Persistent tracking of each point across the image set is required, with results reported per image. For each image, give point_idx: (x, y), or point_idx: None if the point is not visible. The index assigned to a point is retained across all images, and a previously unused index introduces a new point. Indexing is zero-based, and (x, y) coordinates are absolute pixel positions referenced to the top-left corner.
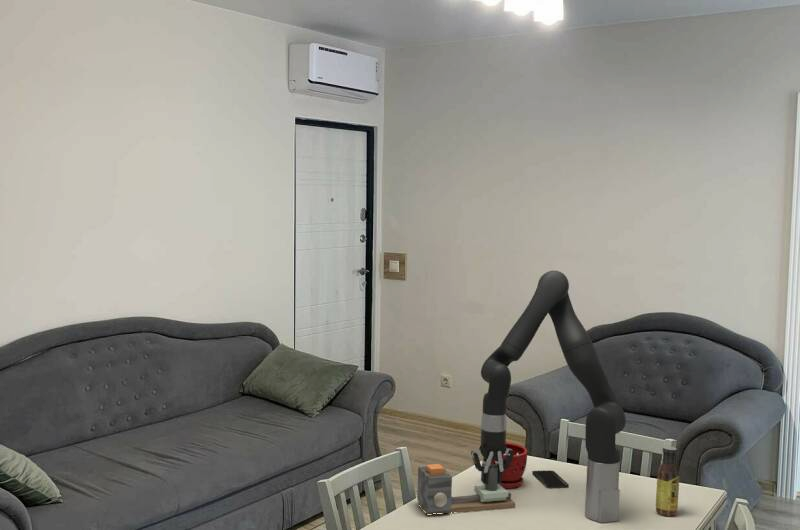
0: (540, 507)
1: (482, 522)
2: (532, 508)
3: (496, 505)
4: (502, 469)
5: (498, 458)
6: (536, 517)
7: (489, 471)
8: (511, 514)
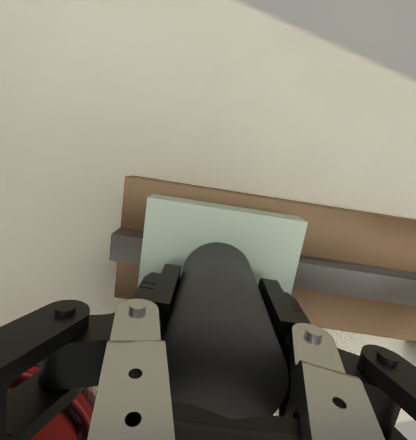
0: (15, 135)
1: (373, 77)
2: (58, 139)
3: (225, 191)
4: (129, 305)
5: (167, 420)
6: (96, 29)
7: (269, 325)
8: (190, 112)
